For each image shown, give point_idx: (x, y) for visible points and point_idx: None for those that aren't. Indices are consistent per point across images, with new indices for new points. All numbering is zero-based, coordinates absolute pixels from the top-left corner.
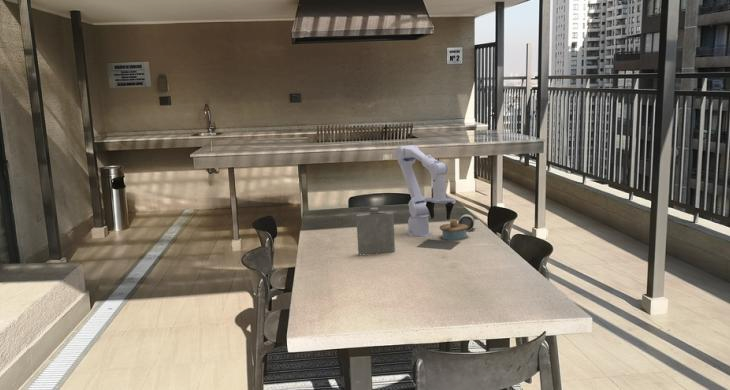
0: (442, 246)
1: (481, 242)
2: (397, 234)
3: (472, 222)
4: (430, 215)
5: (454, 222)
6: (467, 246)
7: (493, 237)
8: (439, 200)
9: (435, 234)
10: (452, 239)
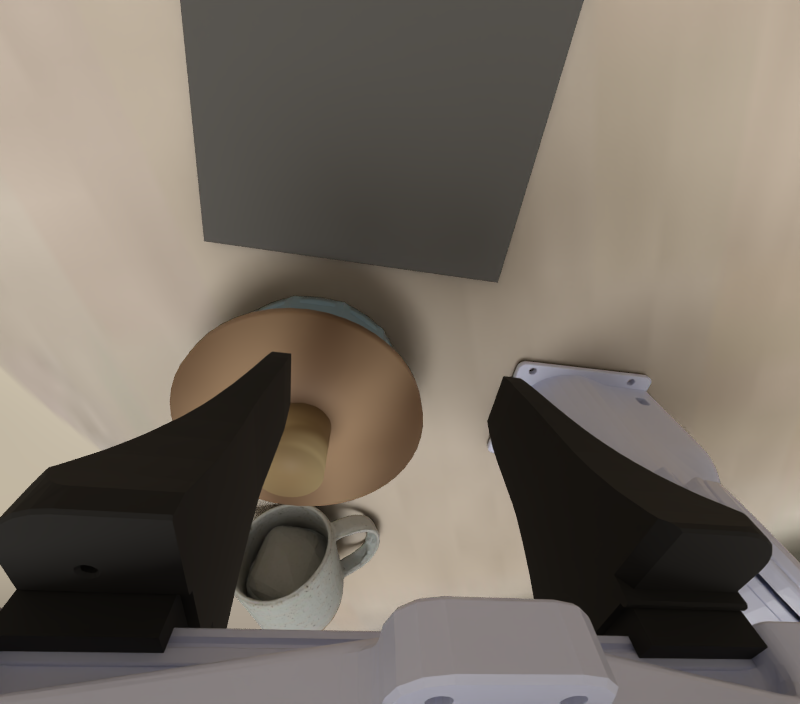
0: (310, 11)
1: (47, 268)
2: (714, 399)
3: (250, 570)
4: (544, 397)
5: None
6: (82, 101)
7: (51, 410)
8: (374, 692)
9: (461, 428)
10: (299, 299)
